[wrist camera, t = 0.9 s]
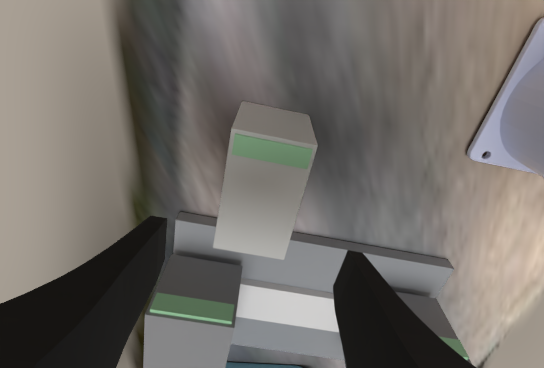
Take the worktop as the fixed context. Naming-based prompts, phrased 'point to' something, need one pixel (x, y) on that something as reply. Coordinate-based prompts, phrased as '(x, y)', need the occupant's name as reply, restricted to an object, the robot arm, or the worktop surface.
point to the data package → (257, 365)
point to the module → (264, 180)
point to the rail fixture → (271, 297)
